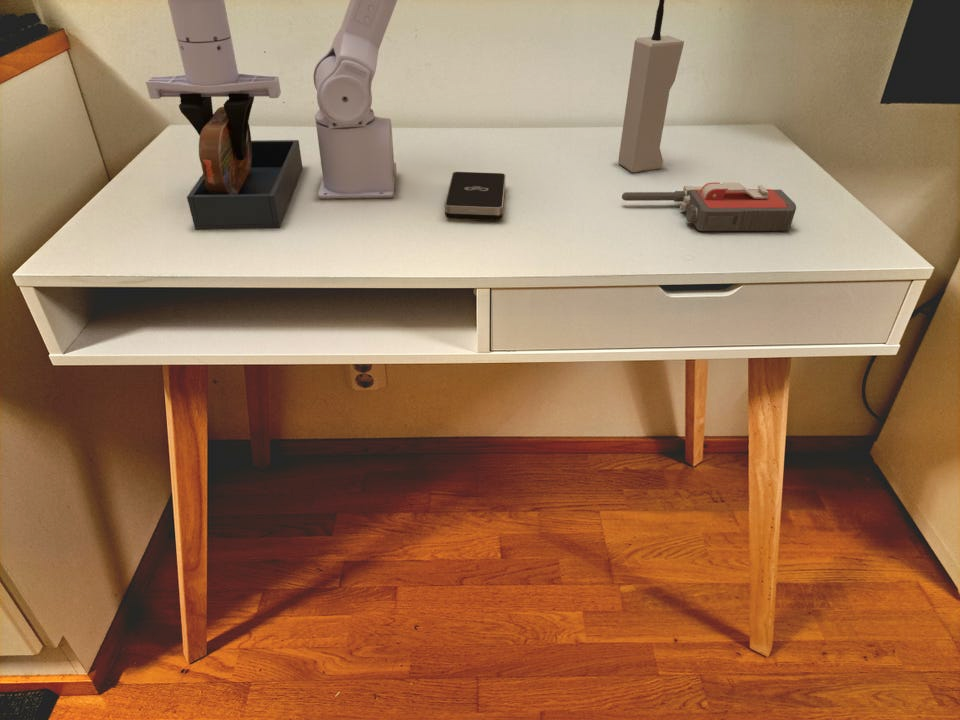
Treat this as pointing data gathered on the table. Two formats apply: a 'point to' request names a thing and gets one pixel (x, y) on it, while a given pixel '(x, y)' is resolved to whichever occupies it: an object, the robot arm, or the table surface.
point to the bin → (252, 190)
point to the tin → (222, 156)
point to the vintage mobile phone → (648, 98)
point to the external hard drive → (475, 196)
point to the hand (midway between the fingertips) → (229, 157)
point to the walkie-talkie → (728, 206)
